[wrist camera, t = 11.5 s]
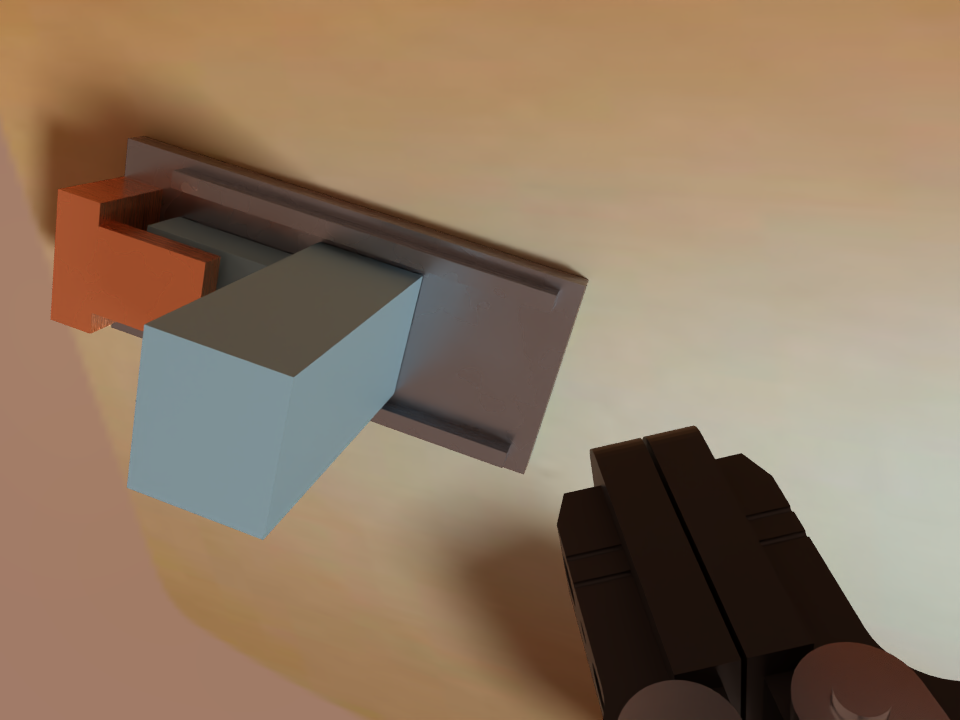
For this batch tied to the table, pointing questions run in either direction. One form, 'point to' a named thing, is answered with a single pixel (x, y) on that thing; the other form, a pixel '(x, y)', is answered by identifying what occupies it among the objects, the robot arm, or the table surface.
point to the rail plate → (320, 218)
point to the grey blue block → (264, 375)
